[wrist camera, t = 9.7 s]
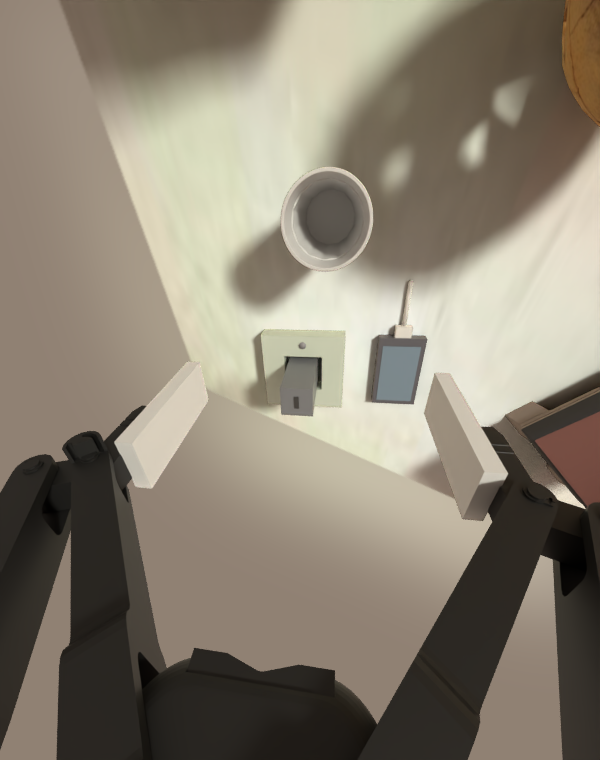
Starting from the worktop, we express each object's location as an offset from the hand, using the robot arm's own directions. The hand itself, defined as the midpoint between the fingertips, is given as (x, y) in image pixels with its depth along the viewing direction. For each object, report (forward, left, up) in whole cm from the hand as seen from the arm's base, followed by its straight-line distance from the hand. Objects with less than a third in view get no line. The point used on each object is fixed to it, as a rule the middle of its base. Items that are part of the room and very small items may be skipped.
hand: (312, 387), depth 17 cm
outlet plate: (+13, -4, -27) cm, 30 cm away
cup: (-8, 0, -27) cm, 28 cm away
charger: (+13, -4, -27) cm, 30 cm away
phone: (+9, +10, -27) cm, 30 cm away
